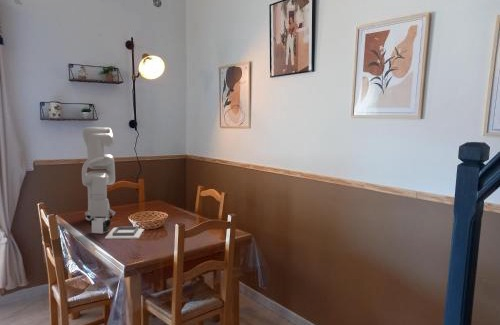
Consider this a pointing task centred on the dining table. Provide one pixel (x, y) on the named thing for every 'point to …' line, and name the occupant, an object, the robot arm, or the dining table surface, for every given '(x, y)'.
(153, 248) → the dining table surface
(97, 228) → the medicine bottle
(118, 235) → the holder board
